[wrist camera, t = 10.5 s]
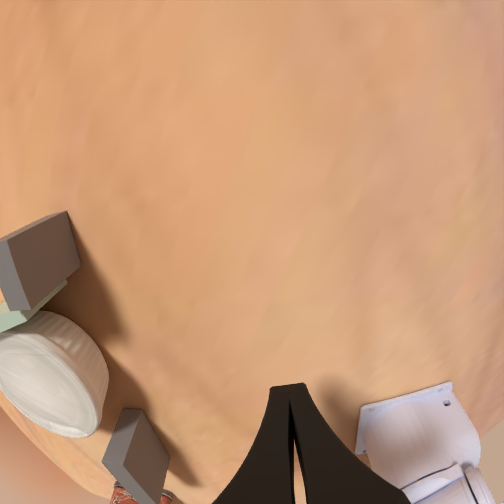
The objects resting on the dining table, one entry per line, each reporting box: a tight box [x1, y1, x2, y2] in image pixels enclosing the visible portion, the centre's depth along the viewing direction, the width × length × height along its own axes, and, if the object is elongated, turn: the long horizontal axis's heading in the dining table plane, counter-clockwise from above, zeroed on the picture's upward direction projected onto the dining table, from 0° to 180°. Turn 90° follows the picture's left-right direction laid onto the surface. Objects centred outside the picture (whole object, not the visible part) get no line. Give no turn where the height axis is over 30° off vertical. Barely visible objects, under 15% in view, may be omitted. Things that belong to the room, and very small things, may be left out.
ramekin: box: [0, 310, 109, 438], centre depth 21 cm, size 11×11×5 cm
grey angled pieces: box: [0, 211, 170, 504], centre depth 20 cm, size 2×26×6 cm, turn 8°
